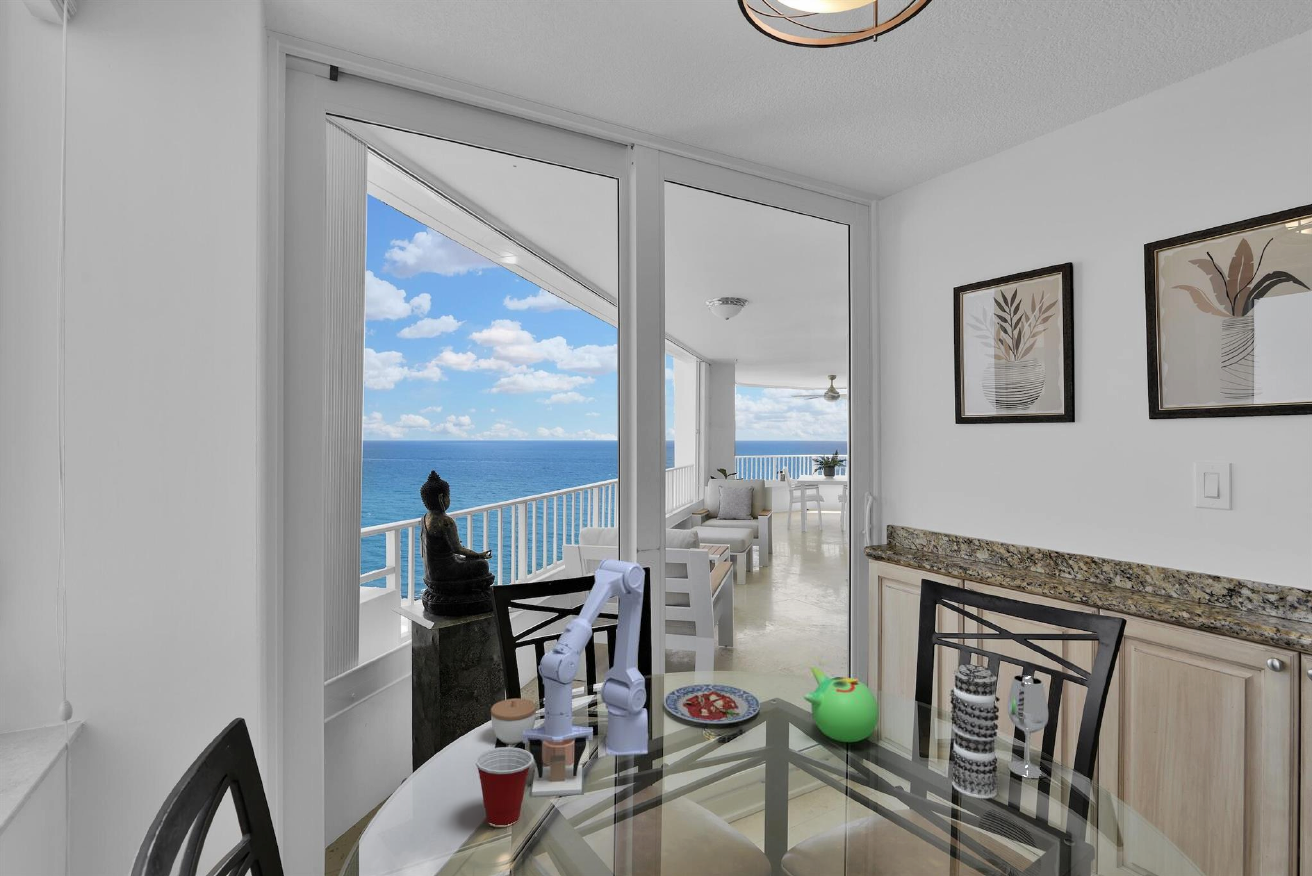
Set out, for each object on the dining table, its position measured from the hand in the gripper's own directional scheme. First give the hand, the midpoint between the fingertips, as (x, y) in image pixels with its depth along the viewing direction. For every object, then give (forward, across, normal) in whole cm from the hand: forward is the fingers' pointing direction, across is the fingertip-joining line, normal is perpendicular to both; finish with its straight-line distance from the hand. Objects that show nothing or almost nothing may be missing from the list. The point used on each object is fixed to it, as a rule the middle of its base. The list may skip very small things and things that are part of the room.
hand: (557, 774), depth 136 cm
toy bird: (+2, +68, +15) cm, 70 cm away
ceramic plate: (+2, +40, +34) cm, 52 cm away
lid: (+2, 0, 0) cm, 2 cm away
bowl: (+2, 0, +10) cm, 11 cm away
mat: (+2, 0, 0) cm, 2 cm away
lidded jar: (+2, -12, +22) cm, 24 cm away
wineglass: (+2, +102, -4) cm, 103 cm away
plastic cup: (+2, -10, -12) cm, 16 cm away
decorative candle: (+2, +87, -10) cm, 87 cm away
